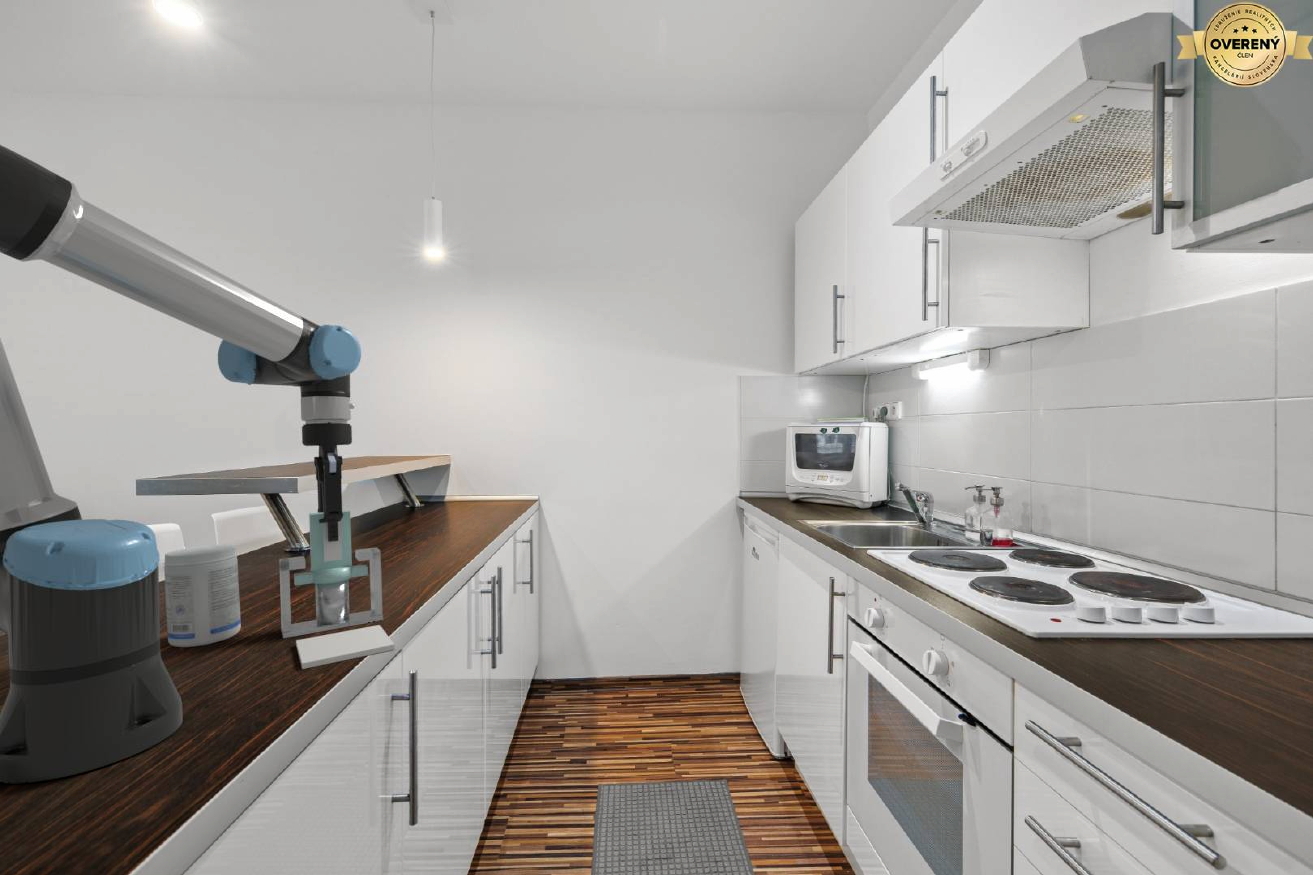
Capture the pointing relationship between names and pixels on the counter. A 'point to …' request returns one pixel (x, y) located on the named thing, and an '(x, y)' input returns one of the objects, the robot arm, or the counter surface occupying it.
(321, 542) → the mint inverted t-block
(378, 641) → the pad
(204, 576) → the supplement tub
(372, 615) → the grey open frame
